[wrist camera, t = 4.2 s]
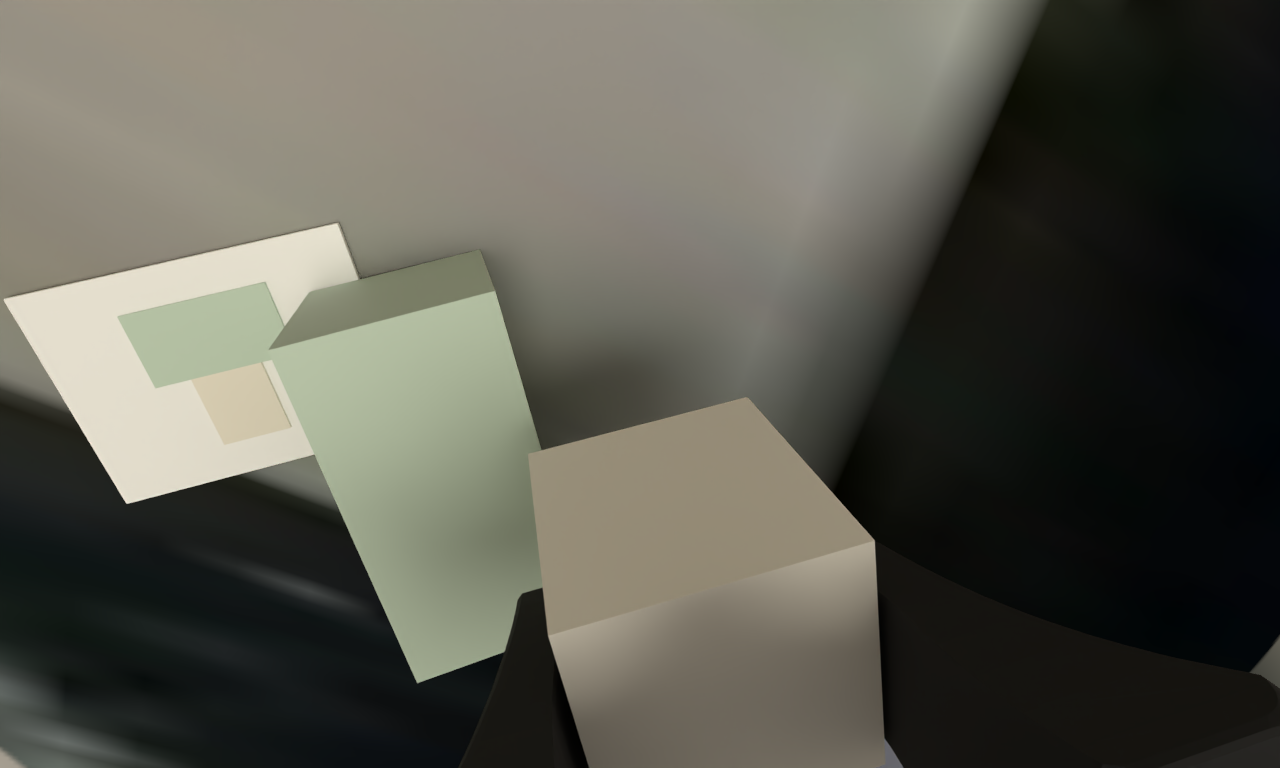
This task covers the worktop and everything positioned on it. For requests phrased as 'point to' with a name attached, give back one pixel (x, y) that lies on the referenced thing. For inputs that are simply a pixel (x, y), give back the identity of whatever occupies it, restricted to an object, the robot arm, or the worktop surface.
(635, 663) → the ivory brick
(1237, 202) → the worktop surface
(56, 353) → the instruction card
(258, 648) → the worktop surface
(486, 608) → the sage brick
